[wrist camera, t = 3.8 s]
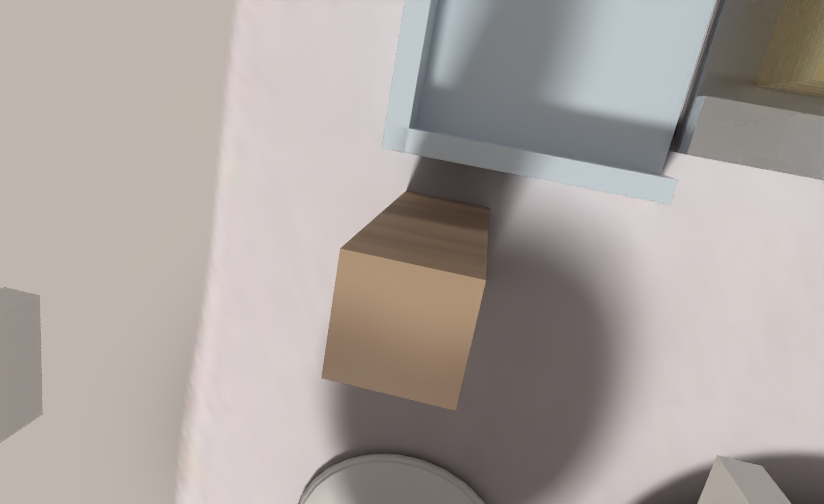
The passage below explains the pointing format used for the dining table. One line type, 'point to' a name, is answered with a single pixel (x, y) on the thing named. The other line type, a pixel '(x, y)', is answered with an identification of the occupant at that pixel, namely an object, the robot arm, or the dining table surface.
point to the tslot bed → (748, 99)
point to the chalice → (387, 483)
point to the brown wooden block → (409, 300)
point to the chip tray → (547, 87)
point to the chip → (796, 50)
